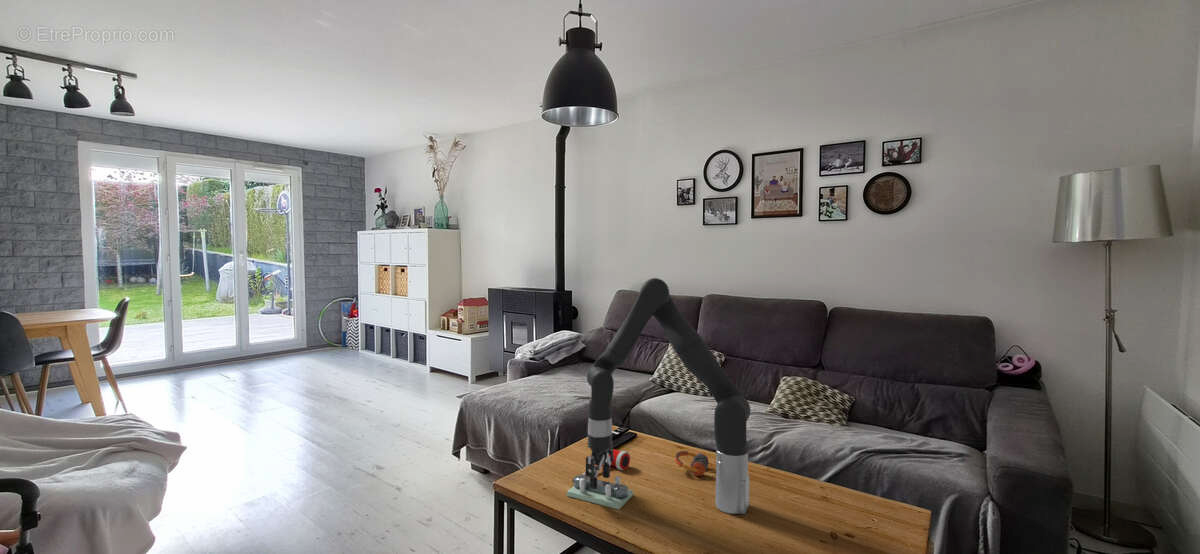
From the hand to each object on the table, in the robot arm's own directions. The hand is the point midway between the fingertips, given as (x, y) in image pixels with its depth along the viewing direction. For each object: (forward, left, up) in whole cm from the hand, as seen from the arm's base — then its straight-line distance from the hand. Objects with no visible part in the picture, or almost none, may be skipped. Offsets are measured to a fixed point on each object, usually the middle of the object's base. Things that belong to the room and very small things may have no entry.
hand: (600, 482), depth 160 cm
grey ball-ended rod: (0, 0, -3) cm, 3 cm away
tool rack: (0, 0, -4) cm, 4 cm away
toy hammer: (+8, -17, -5) cm, 19 cm away
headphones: (-24, -32, -4) cm, 40 cm away
